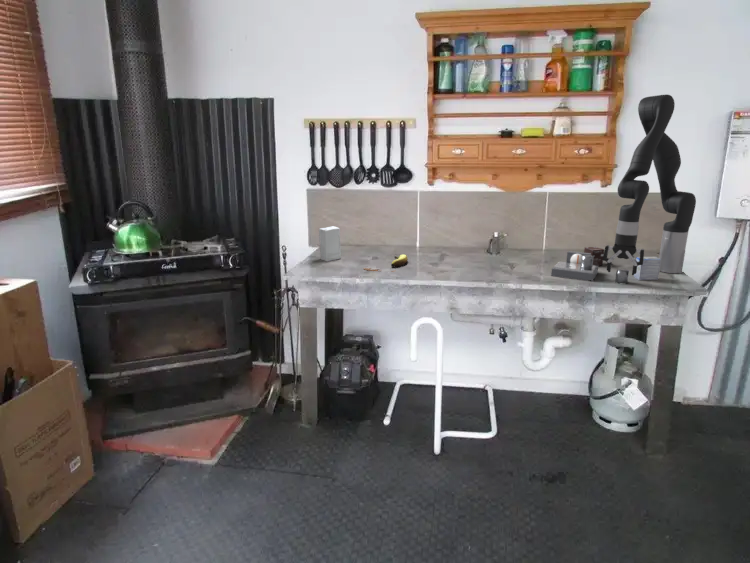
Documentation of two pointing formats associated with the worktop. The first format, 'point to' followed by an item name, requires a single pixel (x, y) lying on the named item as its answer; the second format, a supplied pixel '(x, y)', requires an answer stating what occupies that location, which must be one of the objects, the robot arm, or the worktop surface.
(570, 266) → the dial scale
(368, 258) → the worktop surface
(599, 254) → the box
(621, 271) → the spacer
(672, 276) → the worktop surface
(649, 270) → the medicine box
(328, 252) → the skincare box
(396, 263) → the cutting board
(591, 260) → the spacer
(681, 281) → the worktop surface
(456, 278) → the worktop surface
